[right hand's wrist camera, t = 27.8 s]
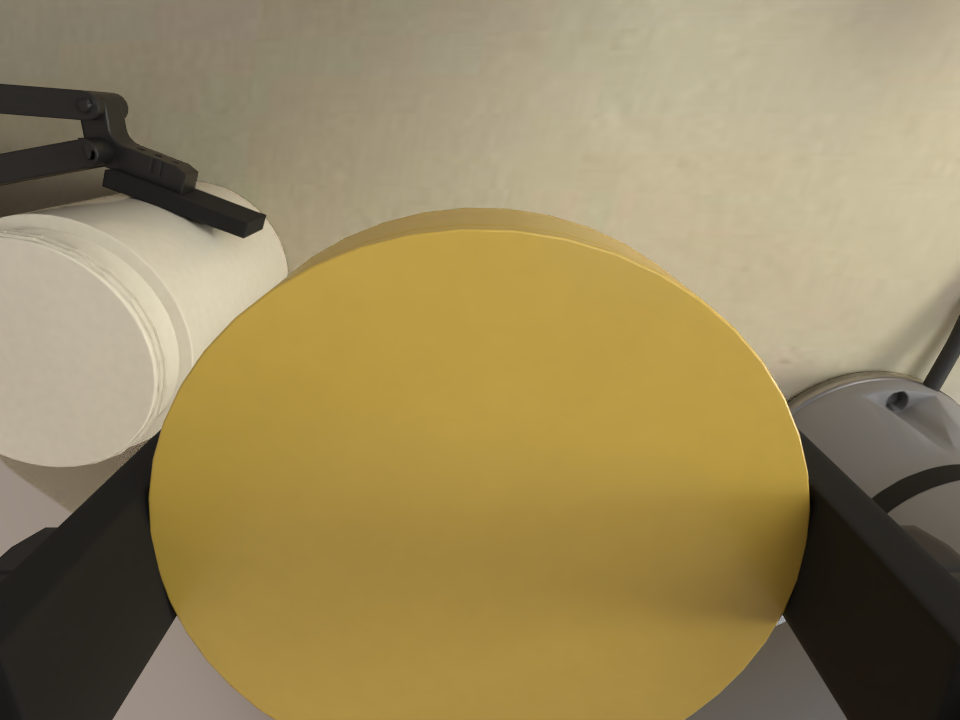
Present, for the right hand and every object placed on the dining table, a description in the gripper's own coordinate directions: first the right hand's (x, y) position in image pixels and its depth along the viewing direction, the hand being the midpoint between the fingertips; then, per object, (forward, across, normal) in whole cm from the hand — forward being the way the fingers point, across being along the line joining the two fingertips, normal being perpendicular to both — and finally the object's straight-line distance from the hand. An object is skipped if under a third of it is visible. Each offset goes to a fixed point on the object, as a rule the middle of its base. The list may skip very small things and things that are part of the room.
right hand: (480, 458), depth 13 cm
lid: (-3, 0, 0) cm, 3 cm away
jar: (+25, +17, +1) cm, 30 cm away
